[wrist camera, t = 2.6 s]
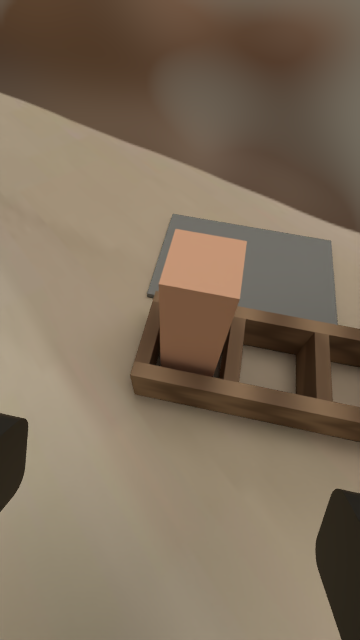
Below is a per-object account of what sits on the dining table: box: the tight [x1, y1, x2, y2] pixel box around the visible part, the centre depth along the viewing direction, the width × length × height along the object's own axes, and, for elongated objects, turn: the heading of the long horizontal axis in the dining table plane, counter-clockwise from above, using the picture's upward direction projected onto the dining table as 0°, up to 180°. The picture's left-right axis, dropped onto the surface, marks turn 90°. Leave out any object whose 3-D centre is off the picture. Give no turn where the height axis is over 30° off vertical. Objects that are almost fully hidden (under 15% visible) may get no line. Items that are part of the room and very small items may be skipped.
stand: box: [130, 291, 360, 442], centre depth 28 cm, size 23×8×4 cm, turn 79°
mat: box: [147, 214, 338, 325], centre depth 37 cm, size 20×13×1 cm, turn 79°
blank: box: [159, 229, 247, 377], centre depth 24 cm, size 4×4×14 cm
